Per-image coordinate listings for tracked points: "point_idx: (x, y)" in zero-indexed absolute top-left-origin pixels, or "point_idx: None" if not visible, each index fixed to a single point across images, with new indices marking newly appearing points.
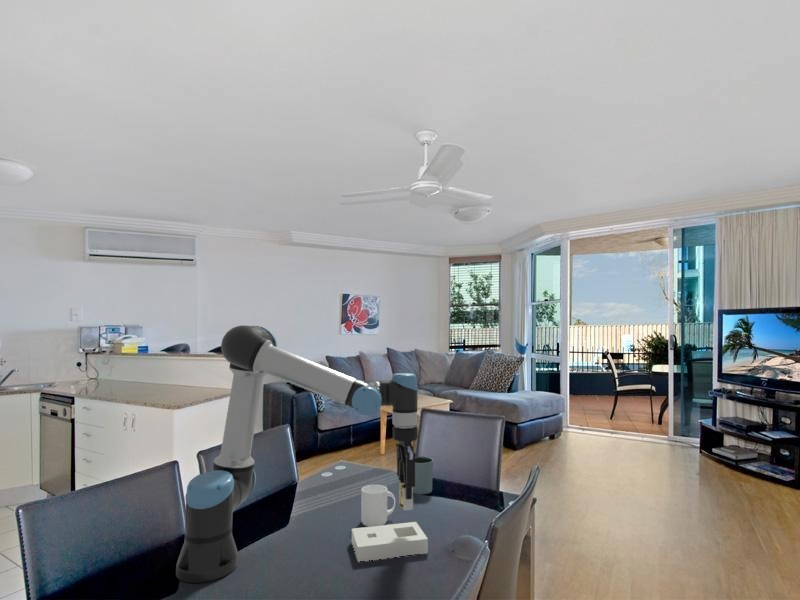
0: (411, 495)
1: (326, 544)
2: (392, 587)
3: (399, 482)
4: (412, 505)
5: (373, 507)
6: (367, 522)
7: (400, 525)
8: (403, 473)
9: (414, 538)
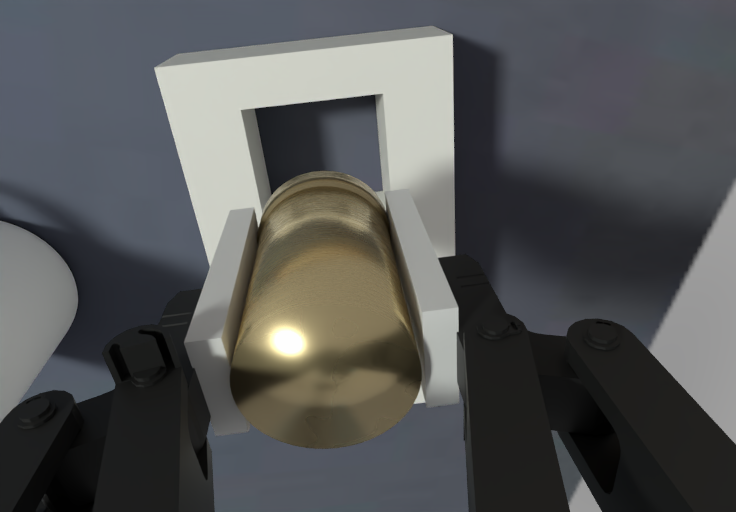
0: (484, 277)
1: (269, 455)
2: (665, 242)
3: (301, 444)
4: (414, 207)
5: (29, 362)
6: (67, 331)
7: (222, 189)
8: (200, 485)
9: (427, 126)
